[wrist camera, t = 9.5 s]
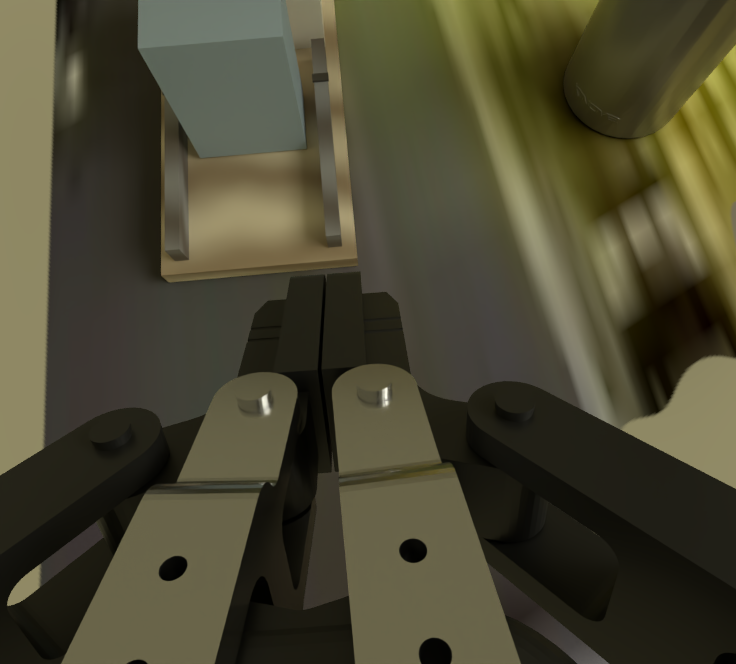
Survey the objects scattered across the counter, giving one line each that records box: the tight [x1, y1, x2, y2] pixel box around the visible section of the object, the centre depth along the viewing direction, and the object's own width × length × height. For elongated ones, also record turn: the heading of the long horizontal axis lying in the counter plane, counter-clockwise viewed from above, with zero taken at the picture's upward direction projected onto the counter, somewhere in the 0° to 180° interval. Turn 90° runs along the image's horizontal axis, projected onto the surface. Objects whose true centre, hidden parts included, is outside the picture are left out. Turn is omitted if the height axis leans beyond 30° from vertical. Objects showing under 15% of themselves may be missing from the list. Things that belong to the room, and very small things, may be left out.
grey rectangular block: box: [138, 0, 307, 158], centre depth 36 cm, size 5×8×11 cm, turn 95°
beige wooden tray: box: [161, 0, 358, 282], centre depth 41 cm, size 26×14×4 cm, turn 5°
